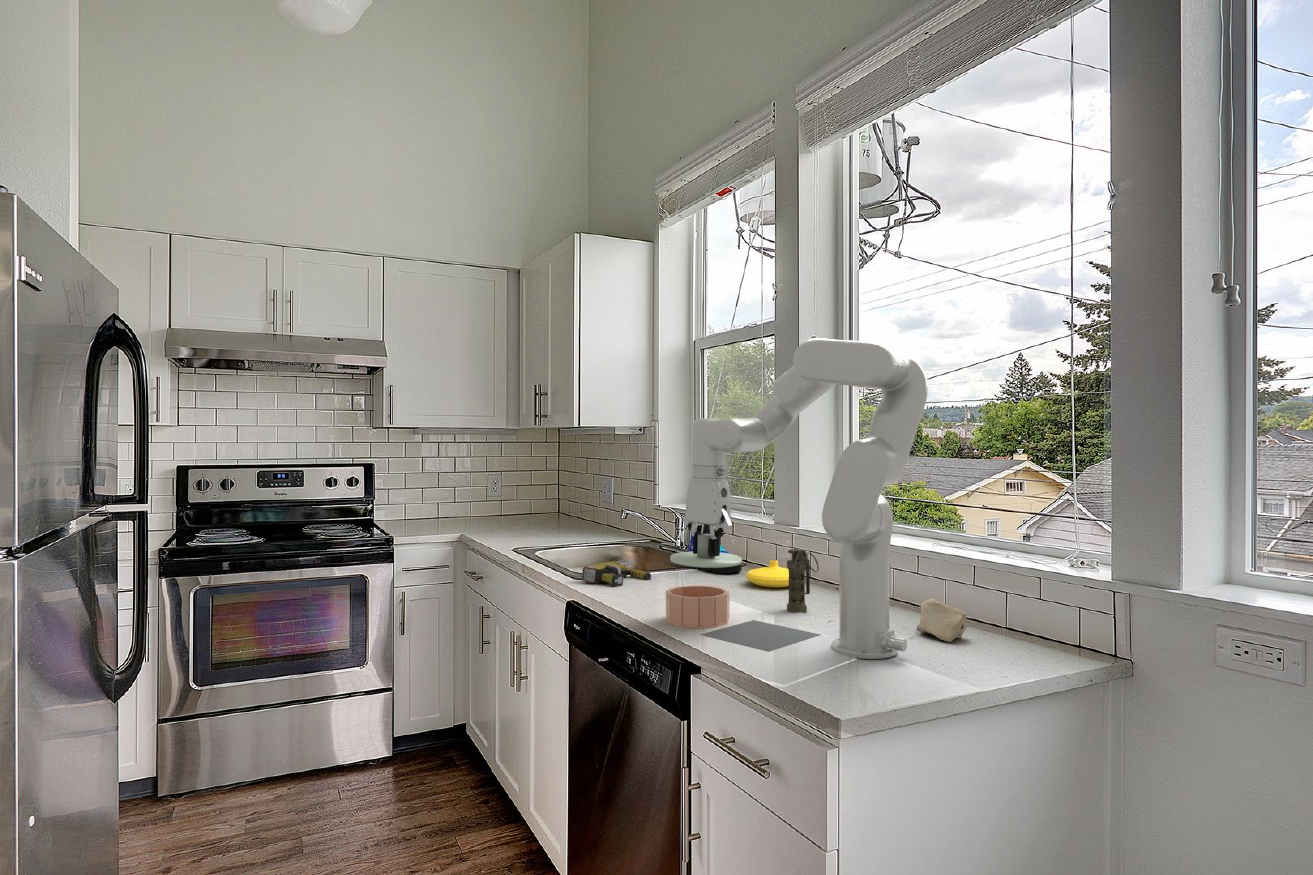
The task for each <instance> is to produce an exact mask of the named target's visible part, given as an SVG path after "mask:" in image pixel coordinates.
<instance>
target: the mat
mask: <svg viewBox="0 0 1313 875" xmlns="http://www.w3.org/2000/svg"><path fill="white" fill-rule="evenodd" d="M699 636H704V637H707V638H712V639H716V640H720V641H722V642H723V641H724V642H728V643H732V644H736V645H741V646H744V647H748V648H752V649H757V650H760V651H764V652H772V651H775V650H779V649H782V648H785V647H788V646H791V645H794V644H796V643H800V642H803V641H806V640H810V639H813V638H816V637H819V636H822V634H820V633H815V632H811V631H807V630H803V629H797V628H792V627H789V626H783V625H779V624H774V623H769V622H765V621H761V620H760V621H758V620H755V619H752V620H749V621H744V622H741V623H738V624H734V625H731V626H727V627H726V626H725V627H723V628H719V629H715V630H711V631H708V632H704V633H700V634H699Z"/></svg>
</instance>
